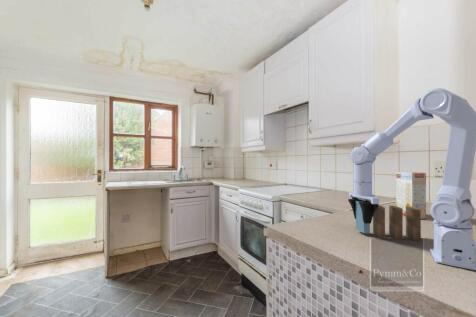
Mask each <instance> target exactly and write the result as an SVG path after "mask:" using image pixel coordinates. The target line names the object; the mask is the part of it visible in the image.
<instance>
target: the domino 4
mask: <svg viewBox="0 0 476 317" xmlns="http://www.w3.org/2000/svg"><path fill="white" fill-rule="evenodd" d="M421 221H422V219H421V210H420V209H417V208H415V207H409V206H406V216H405V237H407V236H408V237H407V238H409V239H410V238H411V239H410V240H412V241H413V240H414V242H422V239H421V238H422V230H421V228H422V224H421V223H422V222H421Z"/></svg>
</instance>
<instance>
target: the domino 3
mask: <svg viewBox="0 0 476 317" xmlns="http://www.w3.org/2000/svg"><path fill="white" fill-rule="evenodd" d="M403 216H404V215H403V209H402V208H400V207H397V206H396V205H391V204H390V205H388V234H389V236H391V237H392V238H393V239H395V240H402V239H403V238H404V237H403V230H404V229H403V228H404V227H403V223H404V222H403V220H404V219H403ZM403 240H404V239H403Z"/></svg>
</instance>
